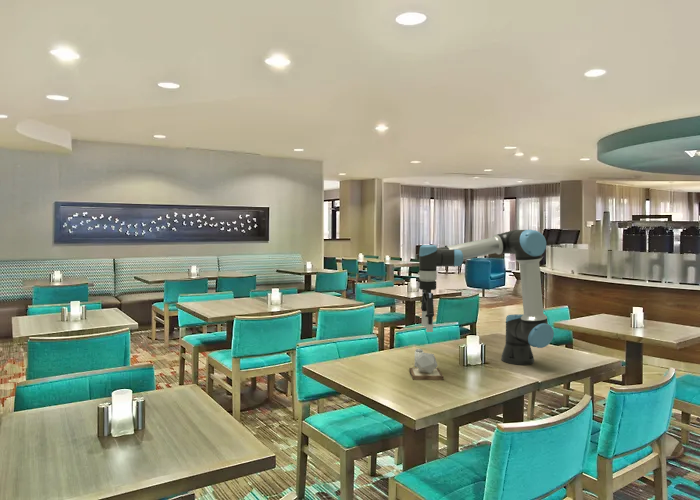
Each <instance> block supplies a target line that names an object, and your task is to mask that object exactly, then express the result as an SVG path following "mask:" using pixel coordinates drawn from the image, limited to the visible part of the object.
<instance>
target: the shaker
mask: <svg viewBox="0 0 700 500" xmlns="http://www.w3.org/2000/svg"><path fill="white" fill-rule="evenodd" d="M422 353H424V350H423V349H421V348H415V351H414V368H418V367H417V364H416V359H417V358H418V357H419V356H420V355H421V354H422Z"/></svg>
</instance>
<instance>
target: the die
mask: <svg viewBox="0 0 700 500" xmlns="http://www.w3.org/2000/svg"><path fill="white" fill-rule="evenodd" d="M416 364H417V367H416V368H418V369H419V372H423V373H429V374H431V373H432V372H433V370H434V369H435V368H438V362H437V360H436V357H435V354H434V353H428V352H423V353H422V354H421V355H420V356H419V357H418V358H417V359H416Z"/></svg>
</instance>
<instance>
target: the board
mask: <svg viewBox="0 0 700 500" xmlns="http://www.w3.org/2000/svg"><path fill="white" fill-rule="evenodd" d="M408 368H409V369H408V371H409V374H410V376H411V379H412V380H413V381H417V380H418V381H425V380H427V381H444V375H443V373H442V371H441V370H440V368H438V367H436V368H435V369H434V370H433V372H432V373H431V374H429V373H423V372H419V369H418V367H408Z"/></svg>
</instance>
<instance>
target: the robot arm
mask: <svg viewBox="0 0 700 500" xmlns="http://www.w3.org/2000/svg"><path fill="white" fill-rule="evenodd" d="M546 249H547V239H546V238H545V235H544V234H543V233H541V232H540V231H538V230H534V229H513V230H509V231H506V232H502V233H498V234H494V235H493V236H492V237H488V238H484V239H483V238H482V239H479V240H473V241H472V240H471V241H468V242H463V243H458V244H457V243H456V244H453V245H447V246H443V247H437V245H435V244H422V245H420V247H419V253H418V257H419V258H418V259H419V261H418V262H419V265H418V266H419V268H418V270H419V272H418V273H417V275H418V278H419V281H418V289H419V290H422V294H421V305H420V306H421V307H420V309H421V326H422V327H426V329H425V330H426V331H425V332H426V333H433V332H434V316H435V309H434V293H433V292H432V291H435V290H437V281H436V280H438V279H437V273H438V271H437V268H438V267H439V268H441V267H453V268H455V267H460V266H462V265H463V263H464V260H467V259H473V258H477V257H481V256H487V255H492V254H496V255H503V254H509V255H510V254H512V255H514V256H515V261H516V262H517V263H518V264H519V274H520V285H521V297H522V309H523V311H522V312H523V314H522V313H521V314H519V313H517V314H508V315H506V318H505V345H504V347H503V351H502V353H501V359H500V360H501V361H502V362H503V363H506V364H511V365H518V366H519V365H520V366H527V365H533V364H534V363H535V356H534V353H533V350H532V347H534V348H538V349H543V348H545V347H546V348H547V346H549V345H550V343H551V342H552V341H553V338H554V335H555V334H554V333H555V332H554V329H553V327H552V326H551V325H550V324H549V323H548V322H549V321H548V316H547V315H546V314H544V306H543V305H544V303H543V294H542V293H543V292H542V283H541V282H542V281H541V267H540V261H542V260H543V254H544V253H545V251H546Z"/></svg>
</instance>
